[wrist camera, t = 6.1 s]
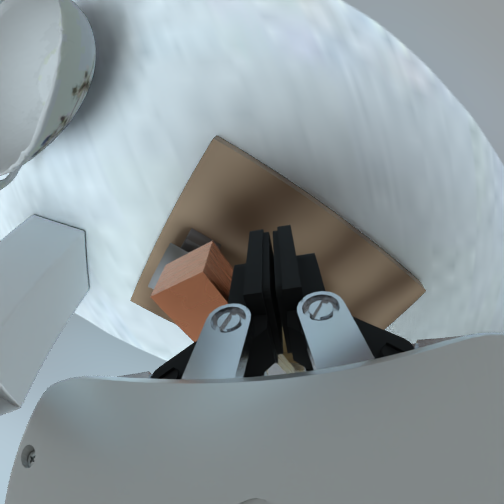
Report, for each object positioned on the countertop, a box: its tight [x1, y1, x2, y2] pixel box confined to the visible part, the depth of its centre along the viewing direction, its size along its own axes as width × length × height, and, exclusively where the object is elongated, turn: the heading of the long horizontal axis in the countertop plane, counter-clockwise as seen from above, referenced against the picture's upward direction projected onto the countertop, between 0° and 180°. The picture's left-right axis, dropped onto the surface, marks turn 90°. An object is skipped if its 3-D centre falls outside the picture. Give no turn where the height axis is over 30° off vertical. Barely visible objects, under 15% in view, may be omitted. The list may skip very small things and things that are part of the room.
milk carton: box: [0, 215, 89, 415], centre depth 14 cm, size 7×7×19 cm
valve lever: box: [150, 240, 305, 376], centre depth 13 cm, size 12×3×2 cm, turn 30°
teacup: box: [0, 0, 96, 190], centre depth 11 cm, size 15×12×8 cm
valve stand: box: [130, 136, 426, 363], centre depth 20 cm, size 22×16×8 cm
